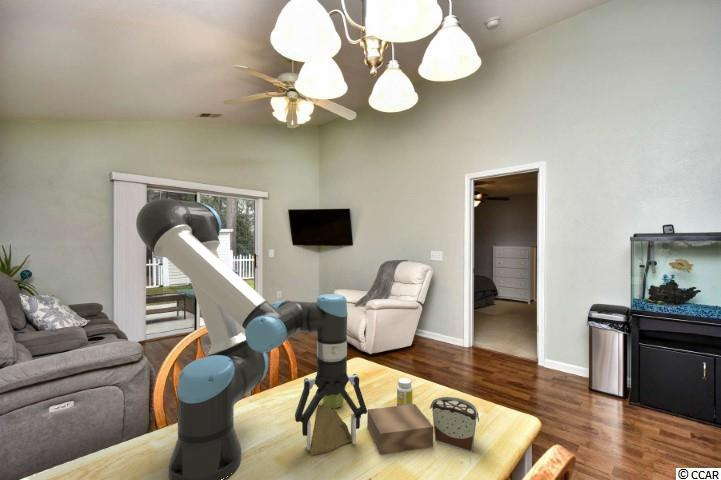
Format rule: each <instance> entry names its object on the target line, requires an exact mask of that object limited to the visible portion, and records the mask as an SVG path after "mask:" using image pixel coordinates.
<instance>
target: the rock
mask: <svg viewBox="0 0 721 480" xmlns="http://www.w3.org/2000/svg"><path fill="white" fill-rule="evenodd" d="M316 409H317V410H316V413H315V419H314V424H313V429H312V435H311V450H309V451H310V454H309V455H310V456H312V457H313V456H315V455H317V454H325V453H328V452H331V451H333V450H334V449H337V448H339V447H341V446H343V445H344V444H348V443H350V442H352V440H351V431H349V428H348V425H347V423H346V422H345V421H343V419H342V418H341V416H339V414H338V412H336V411H334V409H333V408H329V407H328V406H325V405H324V404H323V405H321V404H318V406H317V407H316Z"/></svg>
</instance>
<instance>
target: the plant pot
mask: <svg viewBox="0 0 721 480" xmlns="http://www.w3.org/2000/svg"><path fill="white" fill-rule="evenodd" d="M347 376H349V375H348V373H347ZM346 387H347V385H346V386H345V387H344V388H345V389H346ZM322 401H323V405H325V406H328V407H329V408H330V409H332V410H334V409H338V408H339V407H343V405H344V402H345V399H344V398H343V396H342V395H341V393H339V394H338V395H330V396H326V395H325V396H324V397H323V399H322Z"/></svg>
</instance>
